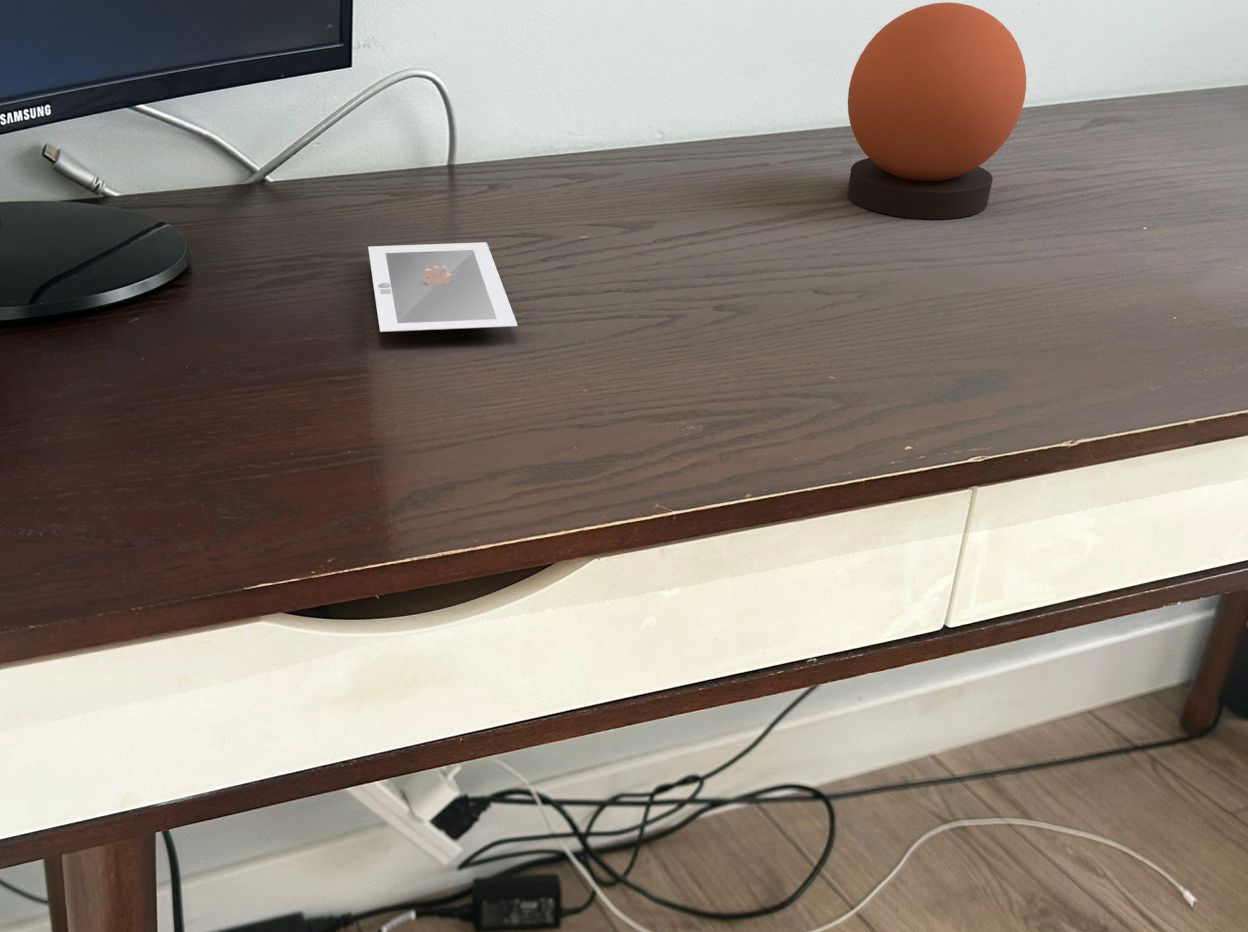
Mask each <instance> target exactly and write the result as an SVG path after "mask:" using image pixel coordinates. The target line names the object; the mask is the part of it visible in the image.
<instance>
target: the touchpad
mask: <svg viewBox="0 0 1248 932" xmlns="http://www.w3.org/2000/svg"><path fill="white" fill-rule="evenodd" d="M367 249H368V255H369V256H368V257H369V264H370V270H371V276H372V285H373V291H374V298H375V299H374V300H375V306H376V312H377V319H378V325H379V326H378V327H379V332H380V333H385V332H387V333H389V332H409V331H411V332H412V331H414V332H415V331H434V330H438V331H439V330H458V329H461V330H463V329H485V328H487V329H488V328H507V327H509V328H510V327H511V328H512V327H519V325H518V322H517V320H516V316H515V314H514V312H513V309H512V307H511V304H510V301H509V298H508V295H507V293H506V290H505V288H504V285H503V282H502V279H501V277H500V275H499V272H498V268H497V267H496V264H495V261H494V258H493V256H492V253H491V250H490V247H489V244H488V242H487V241H485V242H484V241H482V242H458V243H457V242H456V243H430V244H429V243H427V244H402V245H400V244H398V245H373V246H372V245H371V246H367Z"/></svg>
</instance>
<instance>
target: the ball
mask: <svg viewBox="0 0 1248 932" xmlns="http://www.w3.org/2000/svg"><path fill="white" fill-rule="evenodd" d="M848 86H849V87H848V91H847V93H848V94H847V114H848V120H849V124H850V127H851V130H852V134H853V136H854V138H855V140H856V142H857V144H858V146H859V147H860V149H861V150H862V151H863V153H864V154H865V155H866V156H867V158H863V159H860V160H858V161H856V162H854V163H853V164H852V166H851V167H850V173H849V174H850V175H849V179H848V180H849V181H848V187H847V192H846V193H847V198H848V199H849V201H850V202H852V204H855V205H857V206H859V207H860V208H863V209H865V210H868V211H872V212H875V213H879V214H883V215H887V216H892V217H899V218H905V219H916V220H917V219H918V220H951V219H959V218H966V217H967V218H968V217H970V216H971V217H972V216H974V215H977V214H979V213H982V212H983V211H985V210H986V208H987V207H988V204H989V199H990V195H991V189H992V186H993V185H992V184H993V181H994V180H993V175H992V174H991V173H990V172H989V171H988V170H987V169H985V168H983V167H981V166H982V165H983V164H984V163H985V162H987V161H988V160H989V159H990V158H992V157H993V156H994V155H995V154H996V153H997V152H998V151H999V149H1001V148H1002V147H1003V145H1004V144H1005V143H1006V141H1007V140H1008V139H1009V138H1010V136H1011V134H1012V133H1013V131H1014V129H1015V127H1016V126H1017V123H1018V121H1019V119H1020V116H1021V114H1022V110H1023V107H1024V104H1025V100H1026V99H1025V98H1026V92H1027V71H1026V65H1025V61H1024V57H1023V54H1022V51H1021V49H1020V47H1019V45H1018V42H1017V41H1016V38H1014V36H1013V34H1012V32H1011V31H1010V30H1009V29H1008V28H1007V27H1006V26H1005V25H1004V24H1003V23H1002V22H1001V21H1000V20H999V19H997V18H996V17H995V16H994V15H992V14H991V13H989V12H987V11H985V10H983V9H981V8H978V7H975V6H973V5H970V4H965V3H959V2H950V1H949V2H948V1H947V2H933V3H929V4H925V5H921V6H918V7H915V8H913V9H911V10H908V11H905V12H903V13H902V14H900V15H899V16H897V17H895V18H893V19H892V20H891V21H889V22H888V23H886V24H885V25H884V26H883V27H882V28H880V30H879V31H878V32H877V33H875V35H874V36H873V37H872V38H871V40H870V41H869V42H868V43H867V44H866V46H865V47H864V49H863V50H862V51H861V53H860V55H859V57H858V59H857V61H856V63H855V65H854V68H853V71H852V74H851V78H850V82H849V85H848Z"/></svg>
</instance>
